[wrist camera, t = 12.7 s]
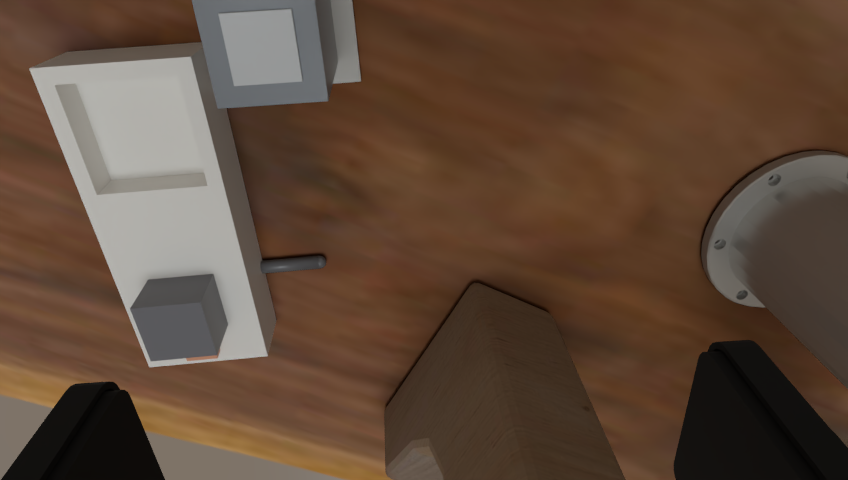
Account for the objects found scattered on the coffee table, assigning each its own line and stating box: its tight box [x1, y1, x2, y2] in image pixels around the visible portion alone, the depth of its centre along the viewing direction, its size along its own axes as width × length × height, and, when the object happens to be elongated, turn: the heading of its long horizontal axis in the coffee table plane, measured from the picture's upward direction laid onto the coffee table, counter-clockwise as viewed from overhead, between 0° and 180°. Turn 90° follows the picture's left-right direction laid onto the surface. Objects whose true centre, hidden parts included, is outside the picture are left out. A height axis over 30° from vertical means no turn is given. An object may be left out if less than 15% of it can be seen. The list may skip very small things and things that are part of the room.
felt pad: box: [331, 0, 361, 84], centre depth 31 cm, size 8×8×1 cm
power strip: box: [29, 42, 326, 367], centre depth 34 cm, size 12×20×7 cm, turn 3°
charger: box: [192, 0, 338, 109], centre depth 28 cm, size 5×5×8 cm
